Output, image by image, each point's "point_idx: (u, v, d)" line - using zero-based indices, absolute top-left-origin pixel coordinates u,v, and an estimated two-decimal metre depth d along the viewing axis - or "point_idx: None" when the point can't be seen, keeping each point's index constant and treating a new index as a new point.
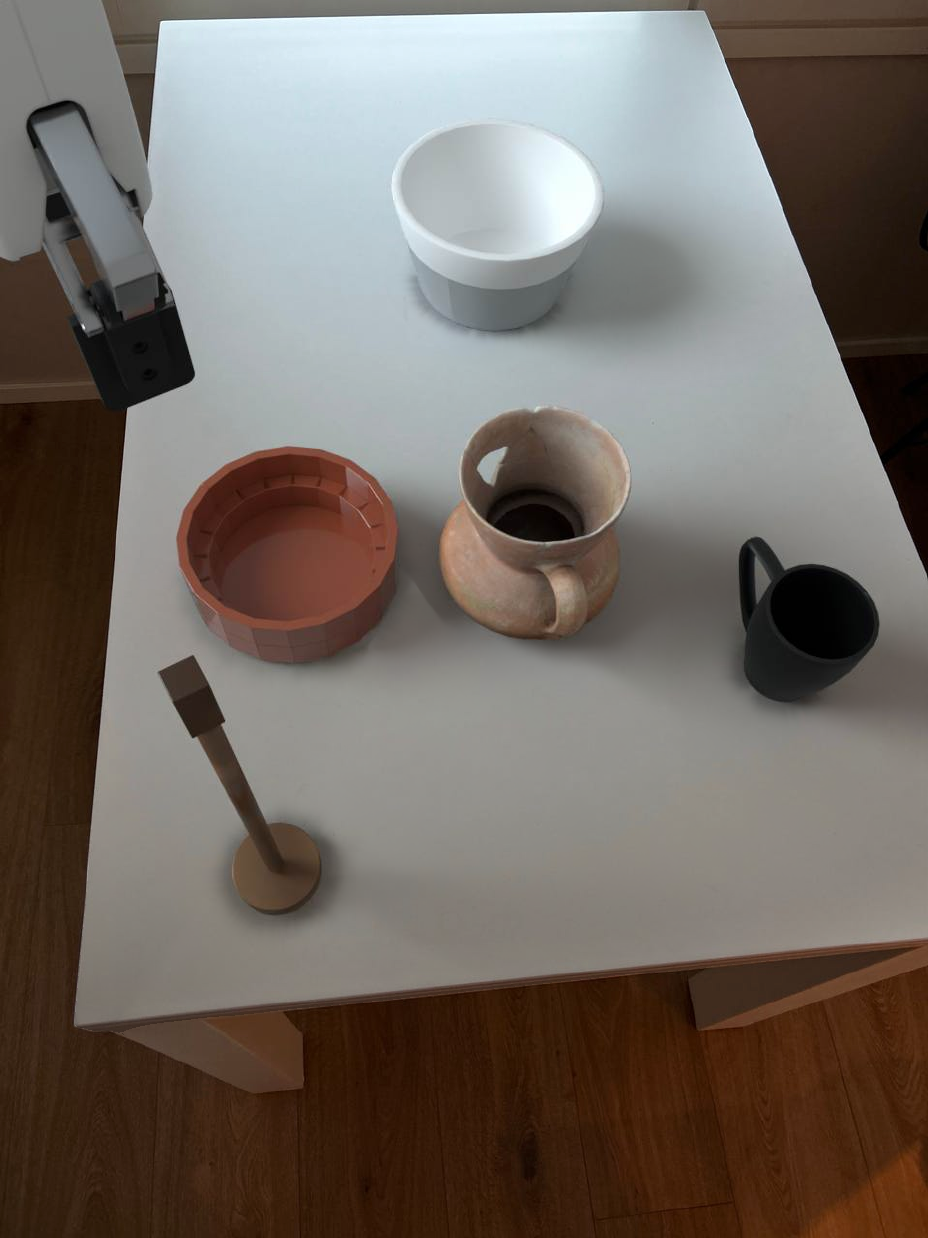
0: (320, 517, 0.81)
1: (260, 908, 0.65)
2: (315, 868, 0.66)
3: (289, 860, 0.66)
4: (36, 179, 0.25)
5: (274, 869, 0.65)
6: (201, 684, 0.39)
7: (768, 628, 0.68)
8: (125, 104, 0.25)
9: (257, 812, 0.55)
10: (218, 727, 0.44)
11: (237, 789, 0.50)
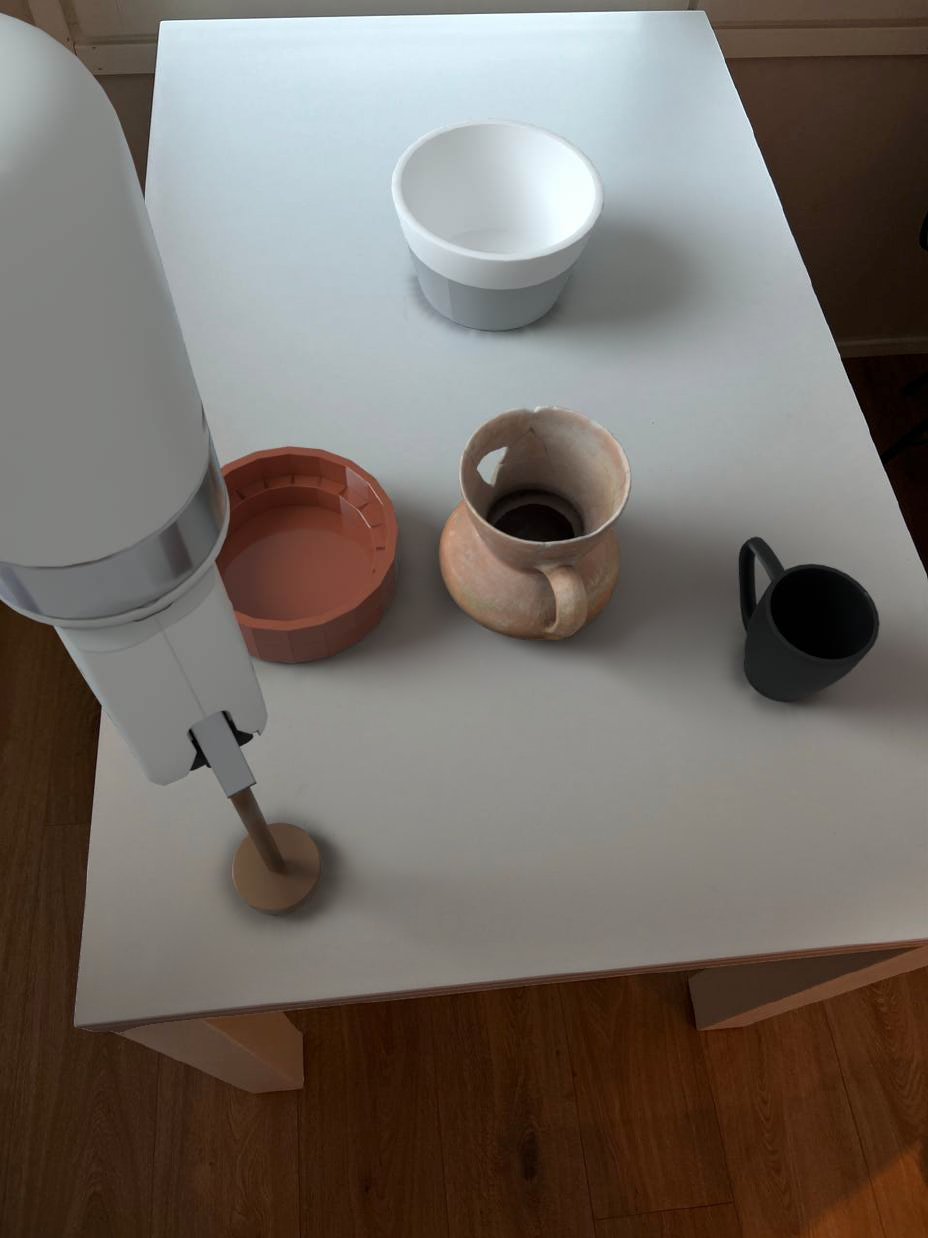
0: (320, 517, 0.81)
1: (260, 908, 0.65)
2: (315, 868, 0.66)
3: (289, 860, 0.66)
4: (189, 752, 0.33)
5: (274, 869, 0.65)
6: None
7: (768, 628, 0.68)
8: (256, 695, 0.33)
9: (257, 812, 0.55)
10: None
11: None
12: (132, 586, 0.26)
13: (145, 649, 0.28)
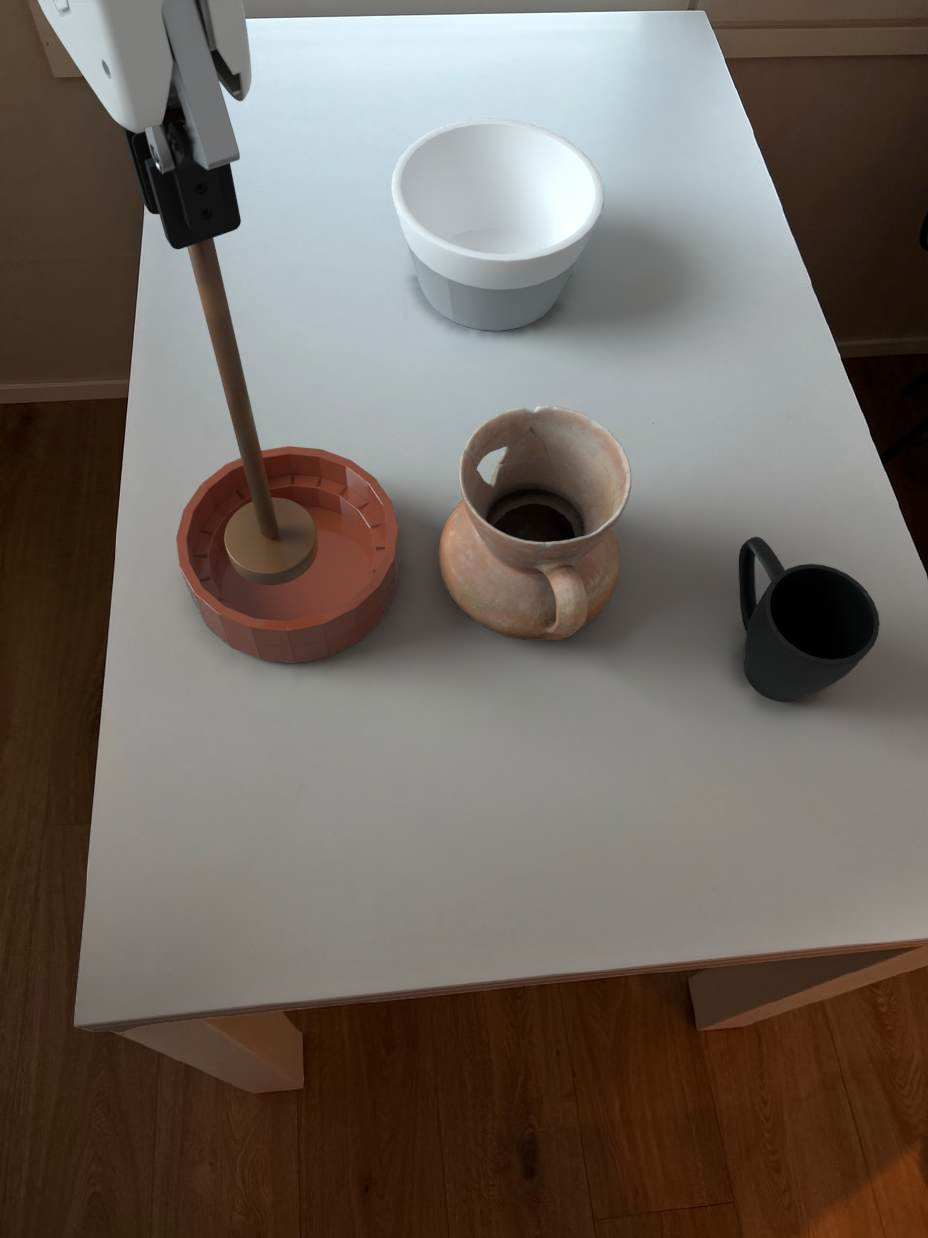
0: (320, 517, 0.81)
1: (253, 572, 0.62)
2: (311, 537, 0.64)
3: (283, 530, 0.64)
4: (165, 58, 0.31)
5: (268, 530, 0.62)
6: None
7: (768, 628, 0.68)
8: None
9: (248, 407, 0.52)
10: None
11: (226, 342, 0.47)
12: None
13: None
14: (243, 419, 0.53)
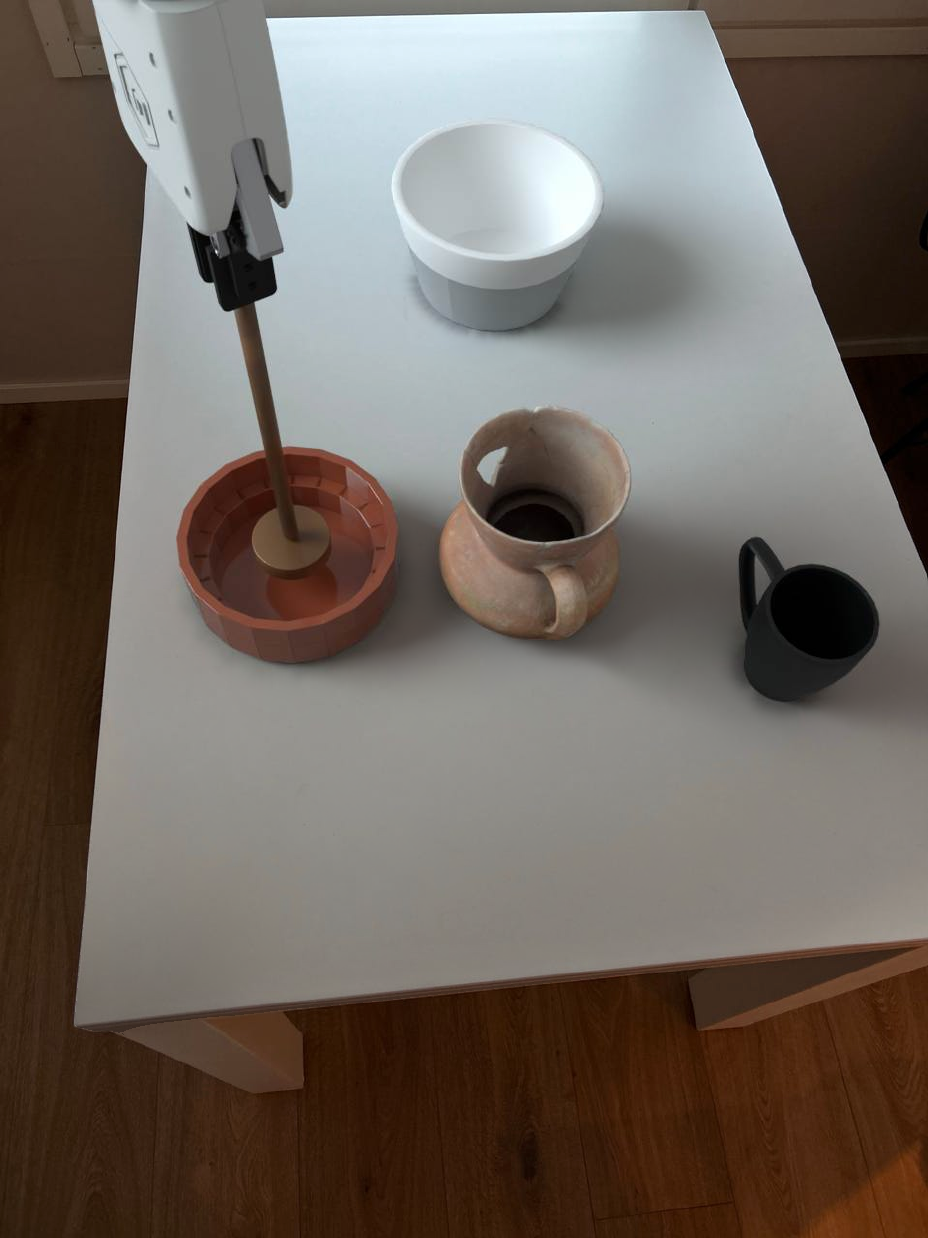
0: None
1: (277, 568, 0.73)
2: (326, 539, 0.74)
3: (302, 533, 0.74)
4: (232, 185, 0.41)
5: (290, 533, 0.73)
6: None
7: (768, 628, 0.68)
8: (285, 139, 0.41)
9: (277, 430, 0.63)
10: None
11: (261, 380, 0.58)
12: None
13: (204, 18, 0.36)
14: (272, 441, 0.63)
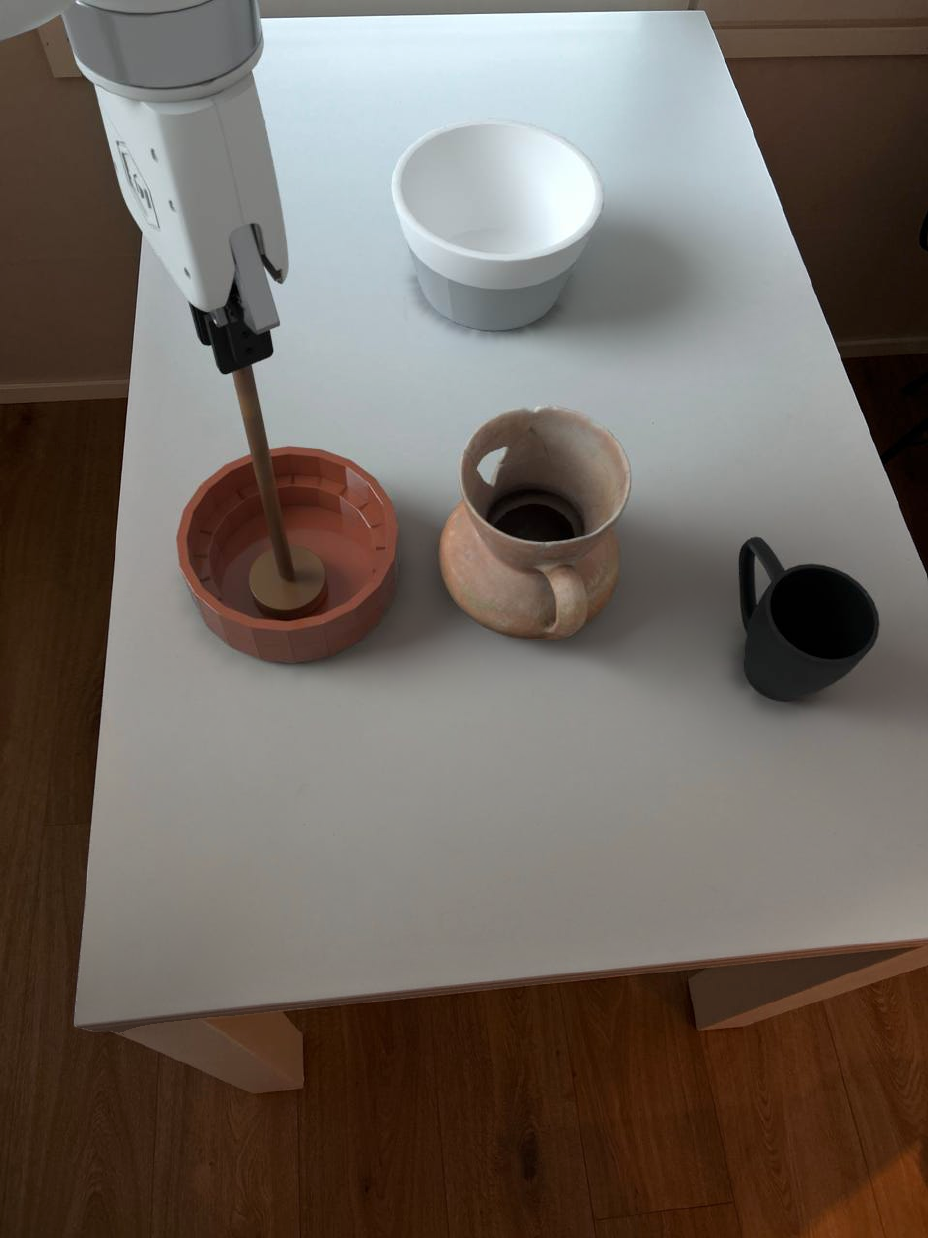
0: (320, 517, 0.81)
1: (274, 608, 0.74)
2: (321, 578, 0.76)
3: (298, 572, 0.76)
4: (230, 266, 0.43)
5: (286, 574, 0.74)
6: None
7: (768, 628, 0.68)
8: (281, 222, 0.43)
9: (273, 480, 0.64)
10: None
11: (258, 434, 0.60)
12: (196, 54, 0.36)
13: (203, 119, 0.37)
14: (269, 489, 0.65)
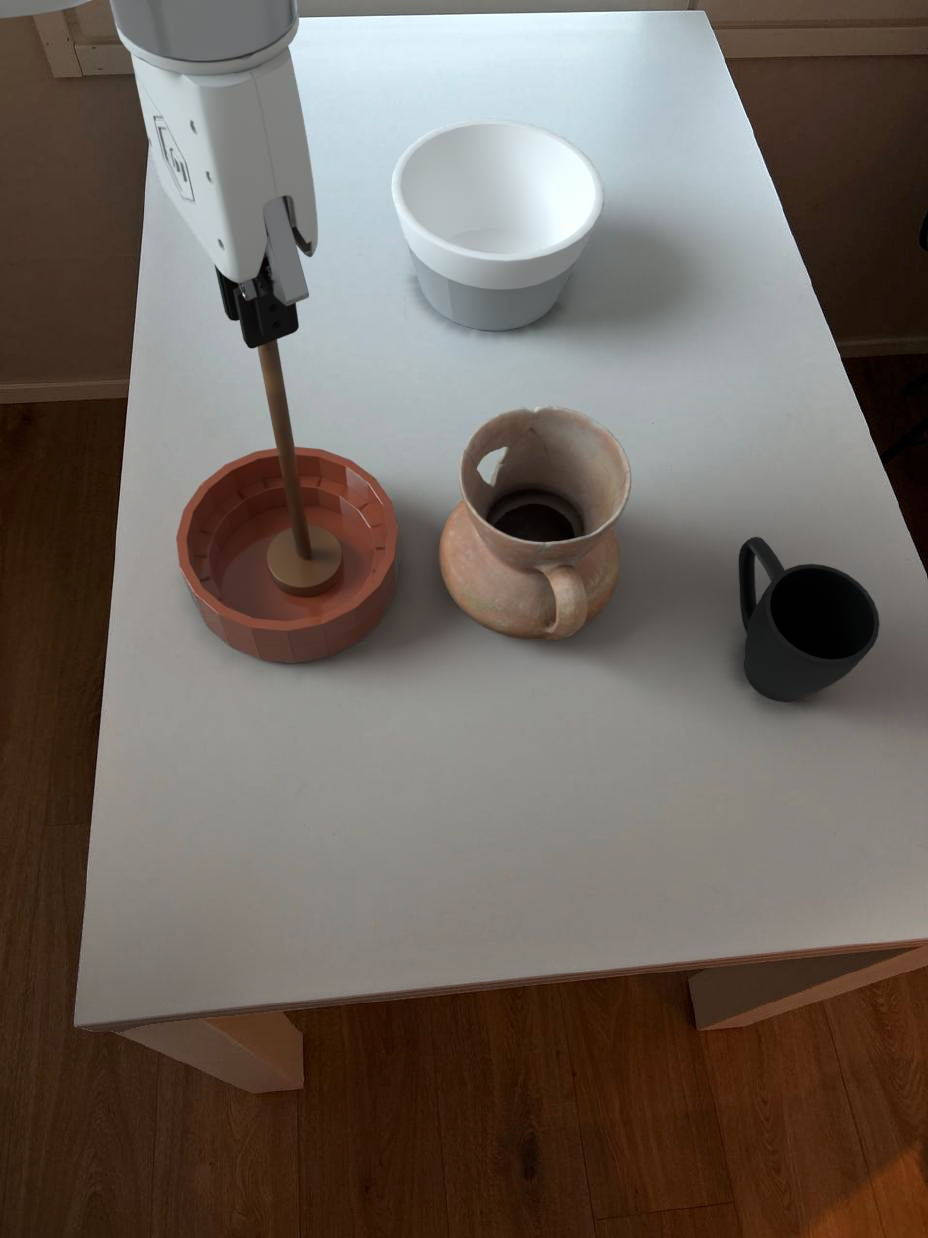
0: (320, 517, 0.81)
1: (291, 586, 0.76)
2: (338, 557, 0.77)
3: (315, 551, 0.77)
4: (262, 238, 0.44)
5: (303, 552, 0.76)
6: None
7: (768, 628, 0.68)
8: (313, 195, 0.44)
9: (294, 456, 0.66)
10: None
11: (281, 410, 0.61)
12: (237, 28, 0.38)
13: (242, 91, 0.39)
14: (290, 466, 0.66)
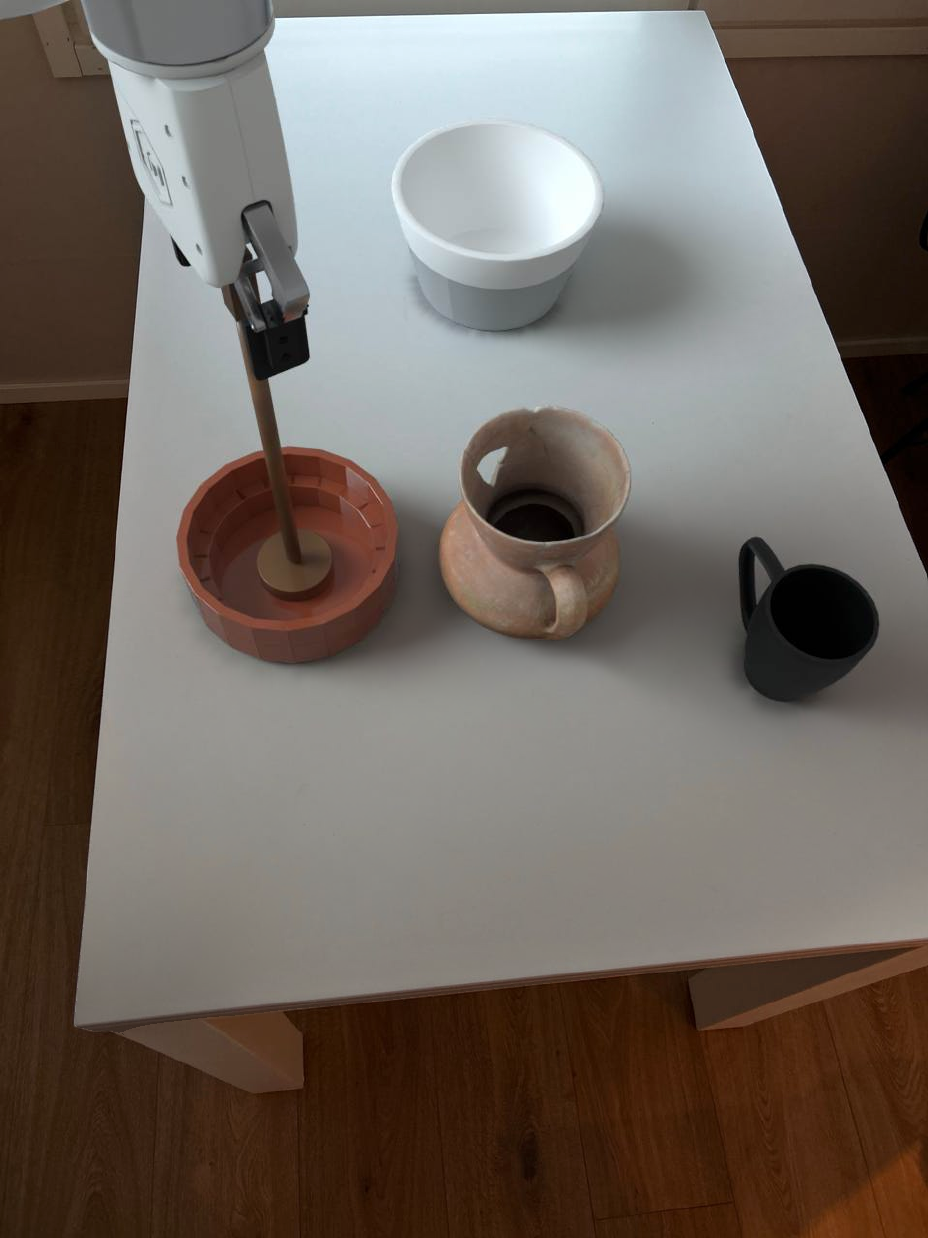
0: (320, 517, 0.81)
1: (281, 590, 0.76)
2: (328, 561, 0.77)
3: (305, 556, 0.77)
4: (241, 242, 0.44)
5: (293, 556, 0.75)
6: (246, 253, 0.50)
7: (768, 628, 0.68)
8: (291, 199, 0.44)
9: (282, 461, 0.66)
10: None
11: (267, 415, 0.61)
12: (210, 31, 0.37)
13: (216, 95, 0.38)
14: (277, 471, 0.66)
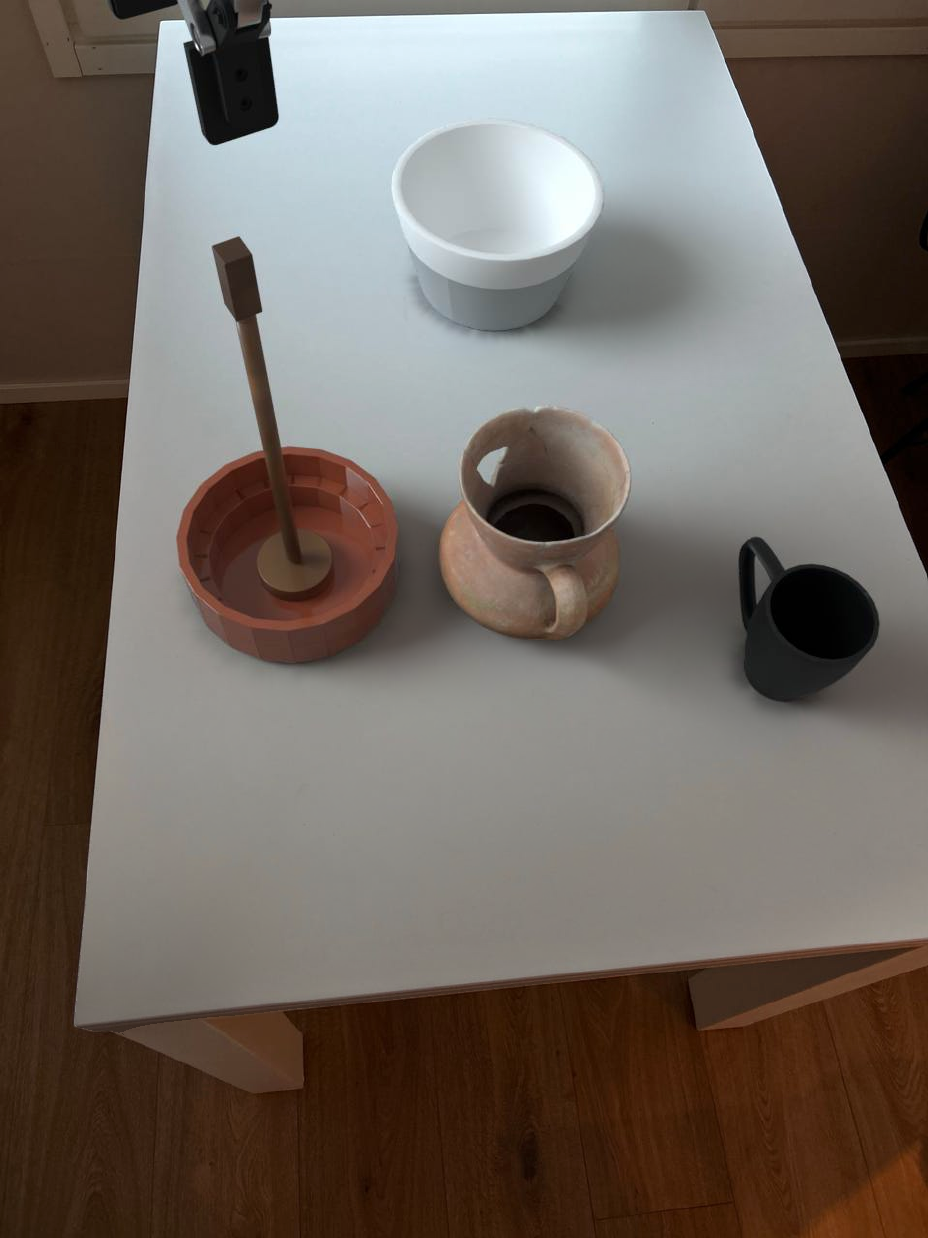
0: (320, 517, 0.81)
1: (281, 590, 0.76)
2: (328, 561, 0.77)
3: (305, 556, 0.77)
4: None
5: (293, 556, 0.75)
6: (246, 253, 0.50)
7: (768, 628, 0.68)
8: None
9: (282, 461, 0.66)
10: (256, 322, 0.54)
11: (267, 415, 0.61)
12: None
13: None
14: (277, 471, 0.66)
